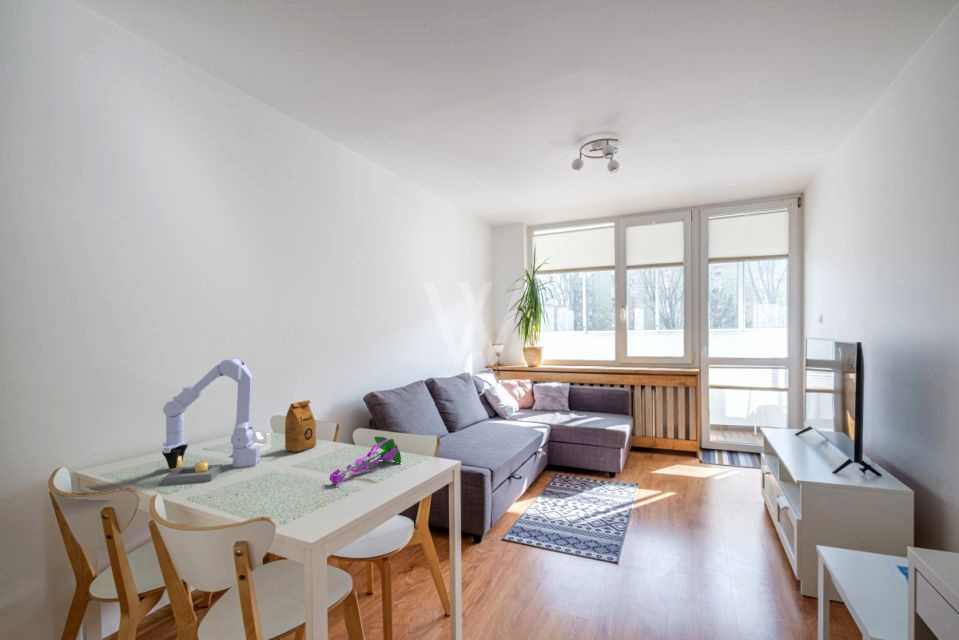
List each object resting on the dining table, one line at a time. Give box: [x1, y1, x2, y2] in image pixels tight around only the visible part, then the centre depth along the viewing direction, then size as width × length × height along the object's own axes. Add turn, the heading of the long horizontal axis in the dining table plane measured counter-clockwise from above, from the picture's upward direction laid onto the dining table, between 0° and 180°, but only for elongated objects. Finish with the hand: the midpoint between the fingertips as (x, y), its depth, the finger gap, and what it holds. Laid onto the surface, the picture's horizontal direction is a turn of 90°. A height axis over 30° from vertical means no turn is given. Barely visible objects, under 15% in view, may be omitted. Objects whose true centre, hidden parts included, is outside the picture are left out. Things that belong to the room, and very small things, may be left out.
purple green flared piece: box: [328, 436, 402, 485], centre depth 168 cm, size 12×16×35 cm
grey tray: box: [162, 463, 223, 486], centre depth 158 cm, size 15×11×4 cm
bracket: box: [253, 431, 272, 453], centre depth 194 cm, size 13×7×8 cm, turn 163°
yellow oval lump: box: [168, 456, 183, 472], centre depth 167 cm, size 4×4×5 cm
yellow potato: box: [194, 461, 209, 473], centre depth 159 cm, size 4×4×5 cm
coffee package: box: [284, 399, 317, 453], centre depth 198 cm, size 10×12×22 cm
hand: (175, 466), depth 167 cm, fingers closed on yellow oval lump, 4 cm apart
